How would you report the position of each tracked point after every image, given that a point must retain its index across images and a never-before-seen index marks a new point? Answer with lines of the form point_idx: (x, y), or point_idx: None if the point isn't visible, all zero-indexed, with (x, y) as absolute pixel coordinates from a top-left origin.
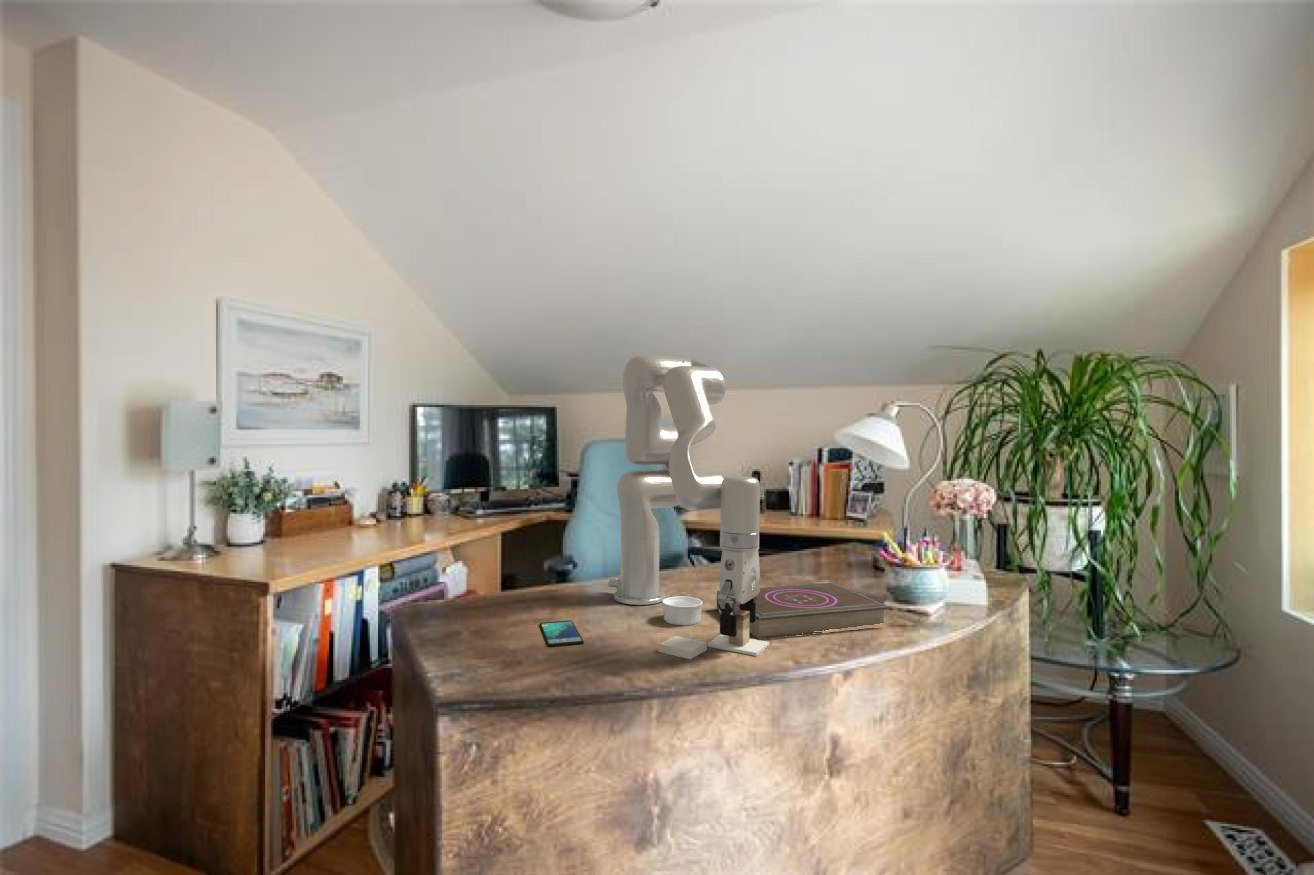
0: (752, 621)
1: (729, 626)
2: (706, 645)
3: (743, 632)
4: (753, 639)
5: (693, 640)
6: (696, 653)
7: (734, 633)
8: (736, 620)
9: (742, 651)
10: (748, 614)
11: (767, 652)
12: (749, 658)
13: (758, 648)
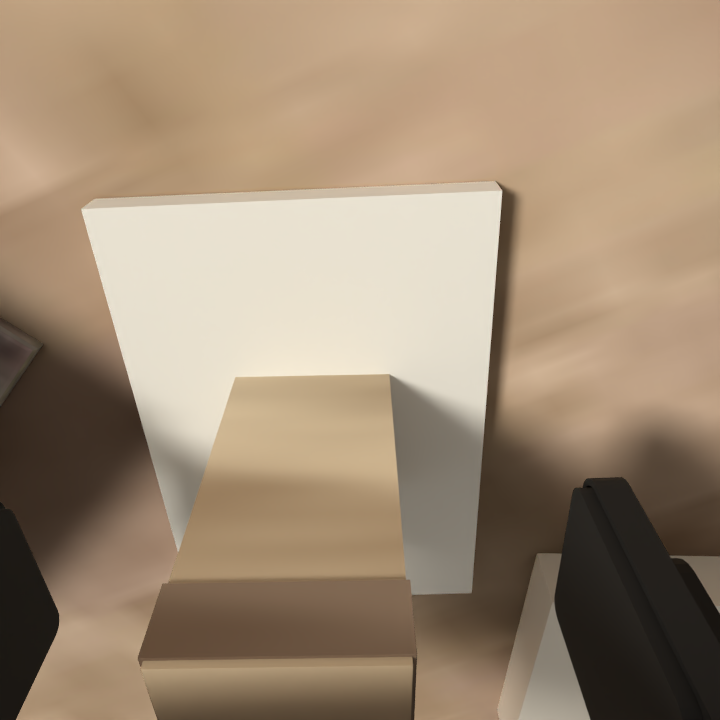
0: (5, 520)
1: (712, 618)
2: (550, 582)
3: (388, 463)
4: (140, 372)
5: (553, 670)
6: (696, 570)
7: (636, 506)
8: (686, 644)
9: (489, 333)
10: (201, 627)
11: (319, 126)
12: (587, 218)
13: (357, 229)
